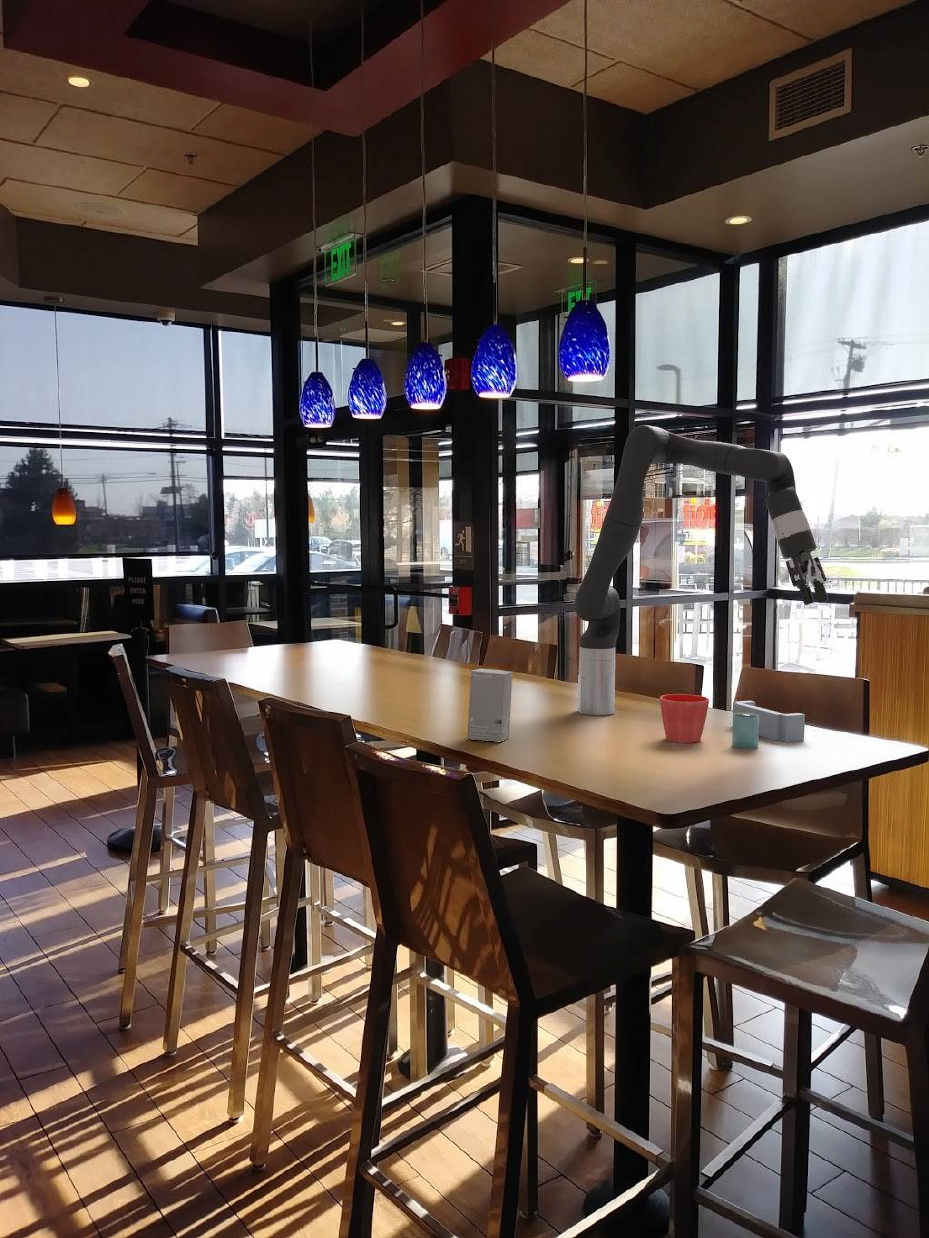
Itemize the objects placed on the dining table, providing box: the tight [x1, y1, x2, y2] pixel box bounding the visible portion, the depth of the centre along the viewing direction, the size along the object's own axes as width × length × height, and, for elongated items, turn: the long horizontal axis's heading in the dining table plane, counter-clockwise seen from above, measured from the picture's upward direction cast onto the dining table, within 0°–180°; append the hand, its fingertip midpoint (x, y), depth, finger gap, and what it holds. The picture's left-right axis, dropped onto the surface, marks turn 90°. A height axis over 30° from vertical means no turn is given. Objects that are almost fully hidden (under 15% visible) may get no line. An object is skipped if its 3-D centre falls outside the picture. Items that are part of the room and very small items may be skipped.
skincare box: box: [467, 668, 514, 742], centre depth 227 cm, size 8×7×16 cm
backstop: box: [732, 700, 806, 743], centre depth 236 cm, size 6×20×6 cm, turn 21°
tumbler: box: [731, 713, 759, 750], centre depth 221 cm, size 6×6×7 cm
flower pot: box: [659, 693, 710, 744], centre depth 228 cm, size 11×11×10 cm
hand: (817, 602), depth 224 cm, fingers open, 8 cm apart
